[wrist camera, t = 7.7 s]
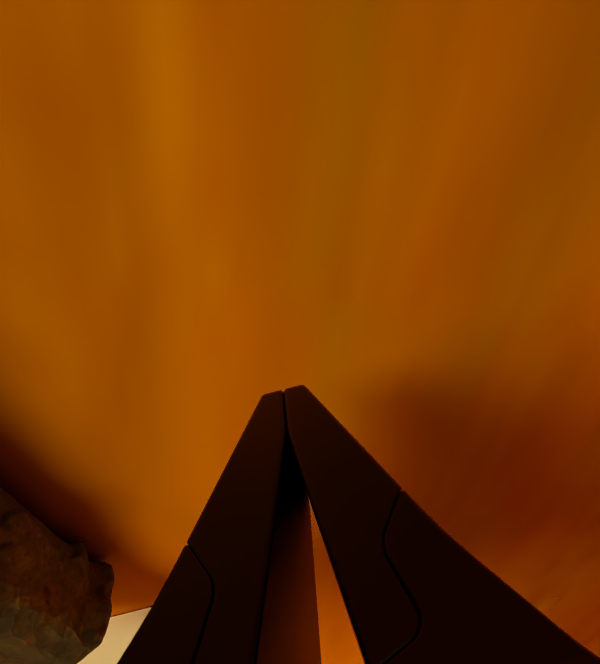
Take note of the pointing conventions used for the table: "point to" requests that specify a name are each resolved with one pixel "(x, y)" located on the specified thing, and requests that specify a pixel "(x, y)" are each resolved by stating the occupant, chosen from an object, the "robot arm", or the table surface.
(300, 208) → the table surface
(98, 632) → the hand tool
